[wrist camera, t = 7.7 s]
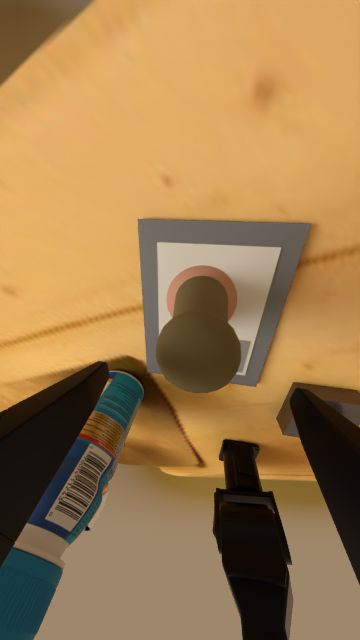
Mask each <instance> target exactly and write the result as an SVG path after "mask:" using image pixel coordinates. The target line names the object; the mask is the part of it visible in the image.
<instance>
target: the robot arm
mask: <svg viewBox="0 0 360 640" xmlns="http://www.w3.org/2000/svg"><path fill="white" fill-rule="evenodd" d="M109 375H110V374H109V369H108V364H107V362H103V361H98V362H96V363H94V364H92V365H90V366H88V367H86V368H84V369H82V370H80V371H78V372H76V373H75V374H73V375H71V376H69V377H67V378H65V379H63V380H61V381H59V382H57V383H55V384H54V385H52V386H50V387H48V388H46V389H44V390H42V391H40V392H38V393H36V394H34V395H32V396H31V397H29V398H27V399H25V400H23V401H21V402H19V403H17V404H15V405H13V406H11V407H9V408H8V409H6V410H4V411H2V412H0V568H1V566H2V565H3V563H4V561H5V560H6V558H7V556H8V554H9V553H10V551H11V549H12V548H13V546H14V544H15V542H16V541H17V539H18V537H19V536H20V534H21V532H22V530H23V529H24V527H25V525H26V524H27V522H28V520H29V519H30V517H31V515H32V514H33V512H34V510H35V508H36V507H37V505H38V503H39V502H40V500H41V498H42V497H43V495H44V493H45V492H46V490H47V488H48V487H49V485H50V483H51V481H52V480H53V478H54V476H55V475H56V473H57V471H58V470H59V468H60V466H61V465H62V463H63V461H64V459H65V458H66V456H67V454H68V453H69V451H70V449H71V448H72V446H73V444H74V443H75V441H76V439H77V437H78V436H79V434H80V432H81V431H82V429H83V427H84V426H85V424H86V422H87V421H88V419H89V417H90V416H91V414H92V412H93V410H94V409H95V407H96V405H97V403H98V401H99V398H100V396H101V394H102V392H103V390H104V388H105V386H106V384H107V381H108V379H109ZM289 404H290V408H291V411H292V414H293V417H294V421H295V424H296V427H297V430H298V434H299V437H300V440H301V443H302V445H303V448H304V450H305V453H306V455H307V458H308V460H309V463H310V465H311V467H312V470H313V472H314V475H315V477H316V480H317V482H318V484H319V487H320V489H321V492H322V494H323V497H324V499H325V502H326V504H327V506H328V509H329V511H330V514H331V516H332V518H333V521H334V523H335V526H336V528H337V531H338V533H339V535H340V538H341V541H342V543H343V545H344V548H345V550H346V553H347V555H348V558H349V560H350V562H351V565H352V567H353V570H354V572H355V574H356V577H357V580H358V582H359V584H360V428H359V427H358V426H357V425H355V424H354V423H353V422H351V421H350V420H349V419H347V418H346V417H345V416H343V415H342V414H341V413H339V412H338V411H337V410H335V409H334V408H333V407H331V406H330V405H329V404H327V403H326V402H325V401H323V400H322V399H320V398H319V397H318V396H316V395H315V394H314V393H312V392H311V391H310V390H308V389H306V388H300V387H297V388H295V389H294V391H293V393H292V395H291V398H290V400H289ZM259 450H260V448H259V446H257V445H252V444H246V443H241V442H235V441H229V440H223V443H222V447H221V450H220V454H219V460H220V461H224V471H225V482H226V489H219V488H216V492H215V493H214V499H215V500H214V502H215V503H214V504H215V508H214V521H213V534H214V536H215V538H216V540H217V544H218V550H219V553H220V554H222V564H223V568H224V571H225V574H226V577H227V581H228V584H229V587H230V590H231V592H232V596H233V598H234V601H235V604H236V607H237V609H238V612H239V615H240V618H241V625H242V636H243V640H289V635H290V626H291V616H292V607H293V595H292V589H291V583H290V577H289V571H288V567H287V564H288V565H292V561H291V556H290V552H289V548H288V544H287V540H286V537H285V533H284V529H283V526H282V523H281V519H280V516H279V512H278V509H277V505H276V502H275V499H274V495H273V492H272V491H269V492H263V491H262V486H261V482H260V478H259V473H258V469H257V465H256V461H255V459H256V457H257V455H258V453H259Z"/></svg>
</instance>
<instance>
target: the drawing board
mask: <svg viewBox="0 0 360 640" xmlns="http://www.w3.org/2000/svg"><path fill="white" fill-rule="evenodd" d="M310 227H311V224H307V223H271V222H234V221H197V220H161V219H138V232H139V248H140V263H141V279H142V295H143V310H144V326H145V342H146V357H147V372H151V373H158V374H162V372H161V371H160V369H159V366H158V363H157V360H156V342H157V339H158V337H159V335H160V333H161V330H162V329H163V327H164V326H165V325H166V324H167V323H168V322H169V321H170V320H171V319H172V318H173V312H174V304H175V297H176V293H177V291H178V289H179V287H180V286H181V285H182V284H183V283H184V282H185V281H186V280H188V279H190V278H192V277H196V276H208V277H212V278H214V279H215V280H217V281H219V282H220V283H221V284H222V285H223V286H224V288H225V290H226V292H227V294H228V323H229V324H230V325H231V326H232V327H233V328H234V330H235V333H236V335H237V337H238V339H239V341H240V344H241V363H240V366H239V368H238V371H237V373H236V375H235V376H234V377H233V378H232V379H231V381H230V382H229V383H231V384H239V385H246V386H253V387H256V386H257V383H258V380H259V377H260V374H261V371H262V368H263V365H264V362H265V359H266V357H267V354H268V351H269V348H270V345H271V342H272V339H273V336H274V333H275V330H276V327H277V324H278V321H279V318H280V315H281V312H282V309H283V306H284V304H285V301H286V298H287V295H288V292H289V289H290V286H291V283H292V280H293V277H294V274H295V271H296V268H297V265H298V262H299V259H300V256H301V253H302V250H303V248H304V245H305V242H306V239H307V236H308V233H309V230H310Z"/></svg>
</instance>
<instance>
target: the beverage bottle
mask: <svg viewBox="0 0 360 640" xmlns="http://www.w3.org/2000/svg"><path fill="white" fill-rule="evenodd" d="M109 374H110V375H109V379H108V381H107V384H106V386H105V388H104V390H103V392H102V394H101V396H100V398H99V401H98V403H97V405H96V407H95V409H94V410H93V412H92V414H91V416H90V417H89V419H88V421H87V422H86V424H85V426H84V427H83V429H82V431H81V432H80V434H79V436H78V437H77V439H76V441H75V443H74V444H73V446H72V448H71V449H70V451H69V453H68V454H67V456H66V458H65V459H64V461H63V463H62V465H61V466H60V468H59V470H58V471H57V473H56V475H55V476H54V478H53V480H52V481H51V483H50V485H49V487H48V488H47V490H46V492H45V493H44V495H43V497H42V498H41V500H40V502H39V503H38V505H37V507H36V508H35V510H34V512H33V514H32V515H31V517H30V519H29V520H28V522H27V524H26V525H25V527H24V529H23V530H22V532H21V534H20V536H19V537H18V539H17V541H16V542H15V544H14V546H13V548H12V549H11V551H10V553H9V554H8V556H7V558H6V560H5V561H4V563H3V565H2V566H1V568H0V640H33V639H34V637H35V635H36V634H37V632H38V630H39V628H40V625H41V623H42V621H43V618H44V616H45V614H46V611H47V609H48V607H49V605H50V602H51V600H52V598H53V595H54V593H55V591H56V587H57V585H58V583H59V581H60V579H61V576H62V570H63V569H64V566H65V563H64V562H63V561H62V560H61V559H60V557H61V555H62V554H63V552H64V551H65V549H66V548H67V547H68V546H69V545H70V544H71V543H72V542H73V541H74V540H75V539H76V538H77V537H78V535H80V533H81V532H82V531H83V530H84V529H85V528H86V526H87V525H88V524H89V522H90V521H91V520H92V518H93V517H94V515H95V513H96V512H97V510H98V508H99V507H100V505H101V502H102V494H103V489H104V487H105V485H106V484H107V483H108V482H109V481H110V480H111V478H112V477H113V475H114V472H115V470H116V468H117V465H118V458H119V455H120V453H121V450H122V448H123V445H124V443H125V440H126V438H127V435H128V433H129V430H130V428H131V425H132V423H133V420H134V418H135V415H136V413H137V411H138V408H139V406H140V404H141V402H142V400H143V397H144V389H143V387H142V385H141V383H140V382H139V381H138V380H137V379H136V378H135V377H134V376H132V375H131V374H129V373H126V372H123V371H117V370H114V371H109Z"/></svg>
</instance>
